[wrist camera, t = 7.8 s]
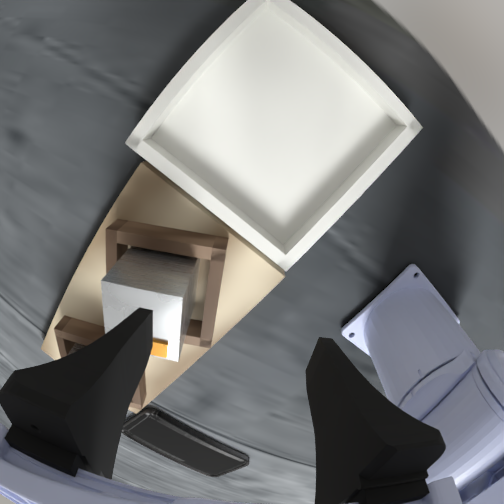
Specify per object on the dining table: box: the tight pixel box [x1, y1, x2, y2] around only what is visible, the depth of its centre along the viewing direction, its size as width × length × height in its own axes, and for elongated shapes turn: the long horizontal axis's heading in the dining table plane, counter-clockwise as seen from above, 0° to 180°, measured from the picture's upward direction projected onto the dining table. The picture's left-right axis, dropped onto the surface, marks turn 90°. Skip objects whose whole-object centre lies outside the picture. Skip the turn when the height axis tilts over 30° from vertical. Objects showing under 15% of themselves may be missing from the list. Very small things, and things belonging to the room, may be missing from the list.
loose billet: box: [101, 246, 201, 362], centre depth 18 cm, size 4×4×6 cm
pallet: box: [41, 161, 285, 414], centre depth 22 cm, size 12×22×3 cm, turn 139°
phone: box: [122, 408, 249, 477], centre depth 31 cm, size 8×1×15 cm
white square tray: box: [125, 0, 423, 271], centre depth 17 cm, size 13×13×2 cm
